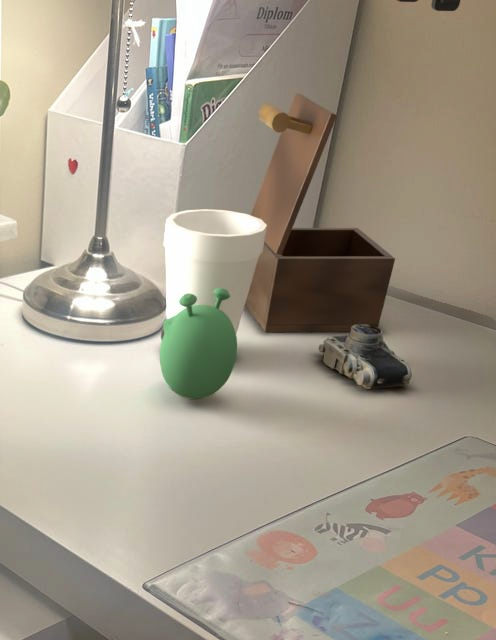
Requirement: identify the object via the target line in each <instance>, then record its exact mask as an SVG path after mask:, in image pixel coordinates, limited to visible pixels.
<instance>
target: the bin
mask: <svg viewBox="0 0 496 640" xmlns="http://www.w3.org/2000/svg"><path fill="white" fill-rule="evenodd" d="M395 261H396V258H395V257H394V256H393V255H392V254H391V253H389V252H388V251H387V250H385V248H383V247H382V246H380V245H379V244H378V243H377V242H376V241H374V240H373V239H372V238H371V237H369V235H367V234H366V233H365V232H364V231H362V230H361V229H360V228H359V227H293V228H292V230H291V233H290V235H289V238H288V240H287V243H286V245H285V248H284V250H283V253H282V255H279V254H276V253H275V252H274V251H273V250H272V249H271V248H270V247H269V246H268V245H267V243H266V242H265V241H264V246H263V251H262V253H261V254H260V256H259V258H258V261H257V265H256V268H255V272H254V275H253V278H252V282H251V285H250V289H249V292H248V296H247V299H246V302H245V307H246V308H247V310H248V311H249V312H250V314H251V315H252V316H253V319H255V321H256V323H258V325H259V326H260V327H261V329H262V330H263V332H264V333H324V332H325V333H332V332H333V333H334V332H335V333H336V332H337V333H339V332H341V333H342V332H344V333H347V332H349V333H350V331H351V327H352V326H354V325H358V324H367V325H369V326H373V327H377V328H378V329H379V325H380V323H381V322H380V321H381V317H382V314H383V313H382V312H383V309H384V307H385V306H384V305H385V301H386V297H387V293H388V289H389V285H390V283H391V278H392V273H393V269H394V266H395Z"/></svg>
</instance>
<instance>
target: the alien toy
mask: <svg viewBox="0 0 496 640" xmlns="http://www.w3.org/2000/svg"><path fill="white" fill-rule="evenodd" d="M213 292H214V295H215V296H216V298H217V300H216V303H215V306H214V307H213V306H208V305H194V306H192V305H193V304H194V303H195V302H196V301H197V297H196V296H195V295H193V294H185V295H183V296H182V297H181V298H180V300H179V303H180V305H182V306H184V307H186V308H185V309H183V310H182V311H180V312H179V313H178V314H177V315H175V316H173V317H171V318H169V319H167V318H166V319H164V320H163V322H162V323H163V324H162V329H161V332H160V347H159V364H160V370H161V375H162V377H163V379H164V381H165V383H166V384H167V386H168V388H169V389H171V391H173V392H174V393H175V394H176V395H178V396H180V397H182V398H185V399H189V400H201V399H206V398H209V397H210V396H212V395H214V394H216V393H217V392H219V390H221V389H222V388H223V387H224V386H225V384H226V383H227V381H228V380H229V378H230V377H231V374H232V372H233V370H234V367H235V364H236V361H237V356H238V355H237V354H238V339H237V333H235V330H234V327H233V324H232V322H231V320H230V319H229V318H228V316H227V315H226V314H225V313H224V312H223V311H221V310H219V307H220V304H221V302H222V300H225V299H228V298H229V297H230V294H229V292H228V291H227V290H226V289H223V288H218V289H215V290H214V291H213Z"/></svg>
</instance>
